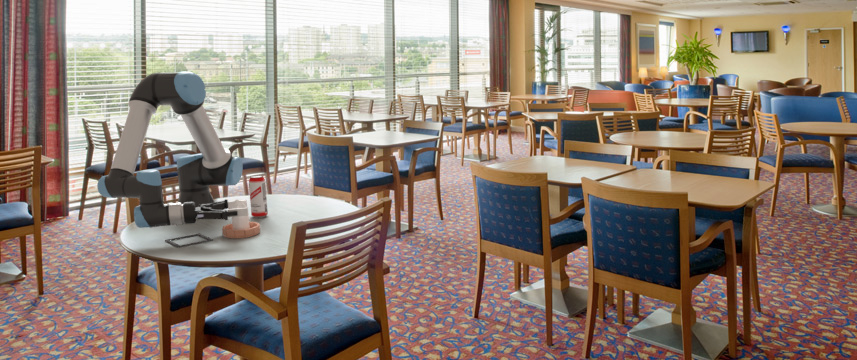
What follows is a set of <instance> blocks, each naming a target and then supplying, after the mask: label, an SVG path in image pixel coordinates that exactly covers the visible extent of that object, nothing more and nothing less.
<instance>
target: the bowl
mask: <svg viewBox="0 0 857 360" xmlns="http://www.w3.org/2000/svg"><path fill="white" fill-rule="evenodd" d="M249 225H250V228H249V229H244V230H233V225H232V223H227V224H226V225H223V226H222V228H221V229H222V235H223V237H224V238H227V239H246V238H251V237H255V236H257V235H259V234H260V232H261V223H259V222H257V221H249Z"/></svg>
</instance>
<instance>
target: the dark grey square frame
mask: <svg viewBox="0 0 857 360" xmlns="http://www.w3.org/2000/svg"><path fill="white" fill-rule="evenodd" d="M195 236H198V237H201V238H203V239H205V240H199V241H194V242H189V243H185V244H178V243H176V242H174V241H176V240H175V239H177V240H180V238H182V239H185V238H186V237H187V238H190V237H195ZM170 240H172V241H170ZM164 241H165V242H166V241H167V242H166V243H168V244H170V245H172V246H174V247H176V248H178V247H179V248H184V247H187V246H194V245H197V244H198V245H199V244H202V243H207V242H212V241H214V239H213V238H211V237H208V236H206V235H205V234H202V233H200V232H199V233H194V234H193V233H192V234H188V235H183V236H182V235H181V236H177V237H172V238H169V239H165V240H164Z"/></svg>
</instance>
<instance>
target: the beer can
mask: <svg viewBox="0 0 857 360" xmlns="http://www.w3.org/2000/svg"><path fill="white" fill-rule="evenodd" d="M266 187H267V186H266V179H265V177H264V175H261V174H257V175H256V174H255V175H251V176H249V179H248V188H249V201H250V213H251V216H252V217H253V218H255V219H261V218H265V217H267V215H268V212H269V210H268V203H267V202H268V200H267V198H268V197H267V188H266Z"/></svg>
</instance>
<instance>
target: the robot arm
mask: <svg viewBox="0 0 857 360" xmlns="http://www.w3.org/2000/svg"><path fill="white" fill-rule="evenodd" d="M206 96H207V91H206V86H205V83H204V81H203V79H202V78H201V76H200V75H199V74H197V73H195V72H191V71H179V72H178V71H177V72H153V73H150V74H149V75H146V76H145V77H143V79H142V80H140V82H139V83H138V84H137V85H136V87H135V88H134V90H133V91H132V93H131V95H130V97H129V100H128V107H129V111H128V113H127V117H126V120H125V123H124V127H123V130H122V132H121V136H120V139H119V142H118V145H117V148H116V151H115V154H114V157H113V160H112V164H111V167H110V170H109V173H108V174H107V175H101V177H100V178H99V179H98V180H97V185H96V186H97V187H96V188H97V191H98V193H99V195H100V196H102V197H103V198H110V199H117V198H118V199H120V198H121V199H122V198H125V199H129V198H130V199H138V200H139V205H137V206H134V209H133V219H134V224H135V225H136V227H137V228H139V229H140V228H141V229H142V228H143V229H144V228H150V229H152V228H157V227H165V226H173V225H174V227H177V226H178V225H183V224H185V225H188V224H189V225H191V224H196V223H197V220H200V221H201V220H225V221H228V220H229V218H232V217H240V216H248V213H249V210H248V211H247V208H237V209H232V208H233V207H234V204H235V200H229V201H228V199H227V198H226V199H224V200H220V201H215V199H214V197H213V195H212V194H211V190H210V186H213V187H214V186H216V187H217V186H218V187H221V186H222V187H223V186H224V187H229V186H230V187H231V186H236V185H237V184H239V182H240V181H241V178H242V175H243V167H244V166H243V162H242V159H241V158H240V157H238V156H233V155H232V152H231V151H230V150H229V149H228V148H226V147H224V145H223V144H222V141H221V140H220V137H219V136H218V134H217V132H216V129H215V128H214V125H213V124H212V122H211V120H210V118H209V115H208V113H207V112H206V110H205V107H204V106H203V105H204V103H205V99H206ZM160 106H170V107H171V108H172V112H174V113H175V114H176V115H177V116H180V117H181V118H182V120H183V122H184V124H185V125H186V128H187V129H188V132H189V133H190V135H191V137H192V139H193V141H194V143H195V144H196V146H197V148H198V150H199V151H200V153H194V154H190V155H184V156H181V157H178V158H177V159H176V170H177V171H176V172H177V180H178V189H179V190H178V191H179V195H178V199H177V202H172V203H171V202H170V203H164V193H163V192H164V191H163V181H162V178H161V172H160V170H158V169H143V170H139V171H137V172H136V175H135V171H136V167H137V165H138V161H139V158H140V156H141V151H142V149H143V145H144V142H145V140H146V139H145V138H146V135H147V132H148V130H149V125H150V122H151V119H152V116H153V115H155V114H156V113H157V109H158V107H160ZM239 201H241V202H243V203H244V204H245V205H246V206H247V207H248V204H247V203H248V202H247V199H241V200H239Z"/></svg>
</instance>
